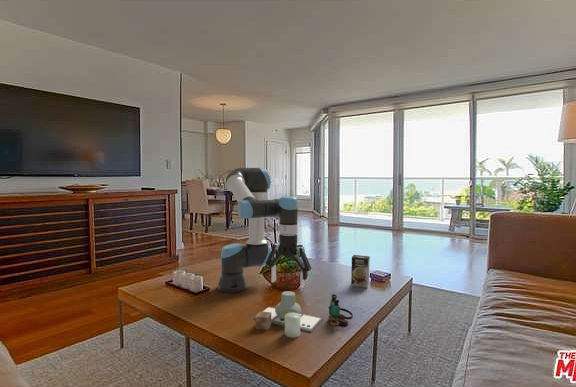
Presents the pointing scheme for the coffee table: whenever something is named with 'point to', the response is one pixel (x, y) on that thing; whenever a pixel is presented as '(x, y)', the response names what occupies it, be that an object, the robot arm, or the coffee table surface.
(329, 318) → the binoculars
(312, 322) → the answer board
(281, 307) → the air freshener
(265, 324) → the walnut block
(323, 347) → the coffee table surface
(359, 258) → the coffee box
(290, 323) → the pale green capsule
